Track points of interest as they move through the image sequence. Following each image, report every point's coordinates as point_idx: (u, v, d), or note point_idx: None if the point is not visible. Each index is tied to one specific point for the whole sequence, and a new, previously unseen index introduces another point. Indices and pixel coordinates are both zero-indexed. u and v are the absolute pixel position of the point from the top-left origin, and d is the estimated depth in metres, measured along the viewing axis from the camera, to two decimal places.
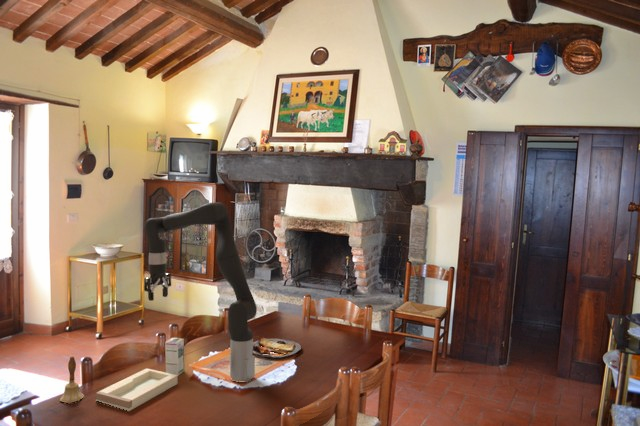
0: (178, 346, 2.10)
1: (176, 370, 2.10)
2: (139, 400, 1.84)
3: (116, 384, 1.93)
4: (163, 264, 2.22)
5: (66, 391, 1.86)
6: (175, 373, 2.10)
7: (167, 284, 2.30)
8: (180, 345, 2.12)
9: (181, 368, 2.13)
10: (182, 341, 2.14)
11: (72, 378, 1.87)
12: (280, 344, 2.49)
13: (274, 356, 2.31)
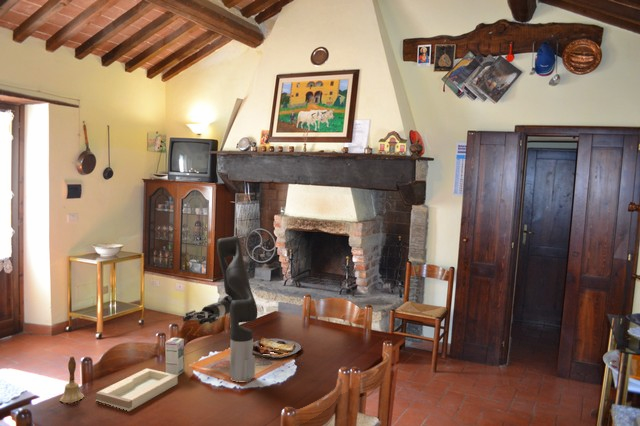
0: (178, 346, 2.10)
1: (176, 370, 2.10)
2: (139, 400, 1.84)
3: (116, 384, 1.93)
4: (212, 304, 2.36)
5: (66, 391, 1.86)
6: (175, 373, 2.10)
7: None
8: (180, 345, 2.12)
9: (181, 368, 2.13)
10: (182, 341, 2.14)
11: (72, 378, 1.87)
12: (280, 344, 2.49)
13: (274, 356, 2.31)
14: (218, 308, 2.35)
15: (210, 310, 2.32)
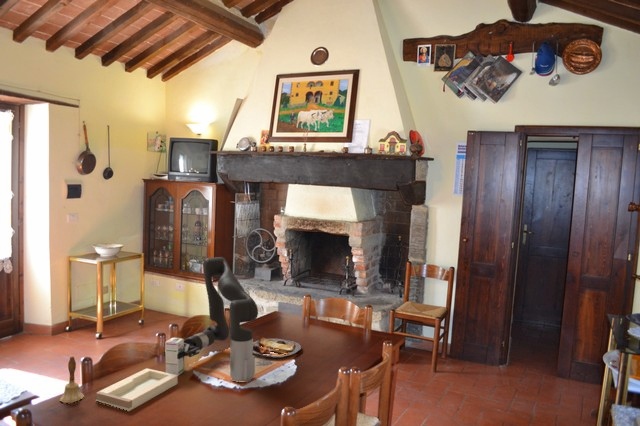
0: (178, 346, 2.10)
1: (176, 370, 2.10)
2: (139, 400, 1.84)
3: (116, 384, 1.93)
4: (194, 335, 2.25)
5: (66, 391, 1.86)
6: (175, 373, 2.10)
7: (189, 352, 2.14)
8: (180, 345, 2.12)
9: (181, 368, 2.13)
10: (182, 341, 2.14)
11: (72, 378, 1.87)
12: (280, 344, 2.49)
13: (274, 356, 2.31)
14: (201, 340, 2.24)
15: (192, 342, 2.21)
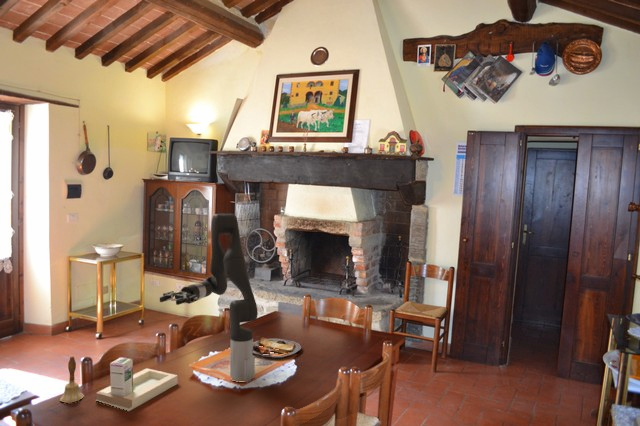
0: (124, 367, 1.83)
1: (122, 396, 1.84)
2: (139, 400, 1.84)
3: None
4: (192, 284, 2.21)
5: (66, 391, 1.86)
6: None
7: None
8: (128, 367, 1.85)
9: (129, 393, 1.87)
10: (131, 362, 1.87)
11: (72, 378, 1.87)
12: (280, 344, 2.49)
13: (274, 356, 2.31)
14: (198, 289, 2.20)
15: (189, 290, 2.17)
